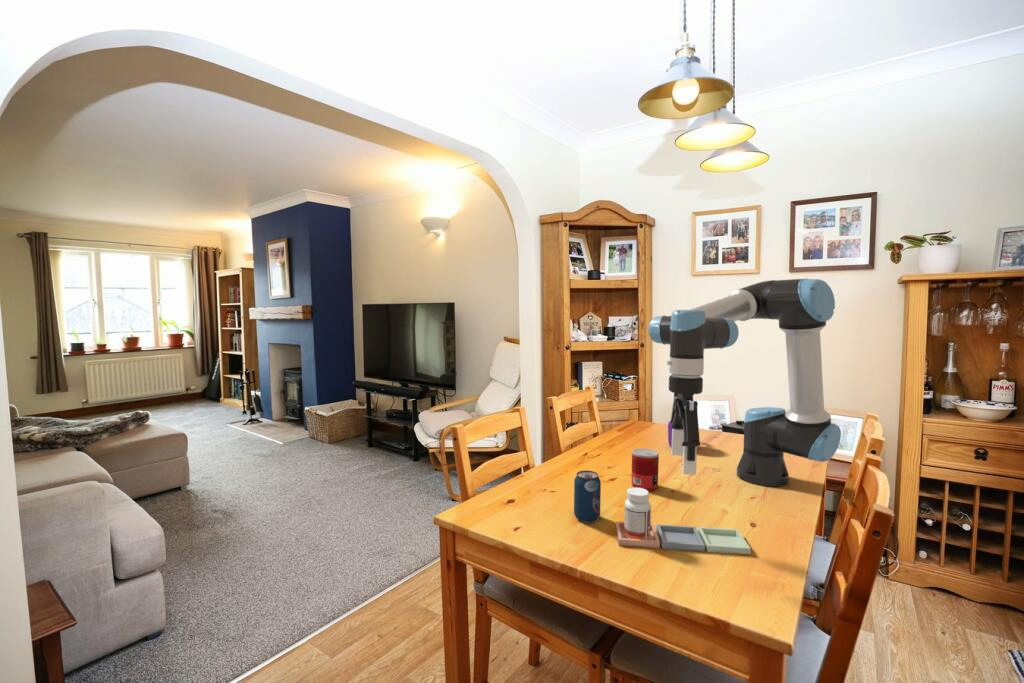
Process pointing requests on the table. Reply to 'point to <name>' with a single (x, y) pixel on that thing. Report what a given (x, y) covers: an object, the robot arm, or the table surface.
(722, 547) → the dish sage
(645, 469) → the canned food
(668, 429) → the mug
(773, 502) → the table surface
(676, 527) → the dish slate
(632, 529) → the pill bottle
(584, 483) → the soda can
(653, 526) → the dish terracotta
